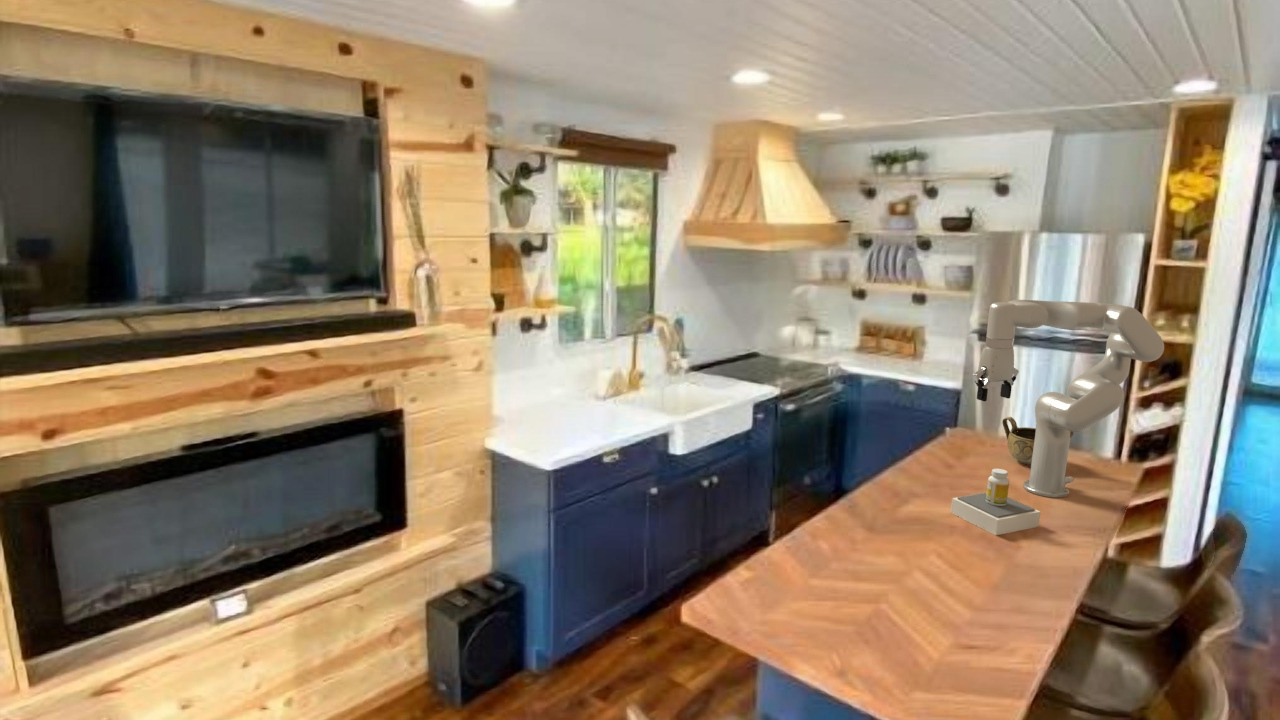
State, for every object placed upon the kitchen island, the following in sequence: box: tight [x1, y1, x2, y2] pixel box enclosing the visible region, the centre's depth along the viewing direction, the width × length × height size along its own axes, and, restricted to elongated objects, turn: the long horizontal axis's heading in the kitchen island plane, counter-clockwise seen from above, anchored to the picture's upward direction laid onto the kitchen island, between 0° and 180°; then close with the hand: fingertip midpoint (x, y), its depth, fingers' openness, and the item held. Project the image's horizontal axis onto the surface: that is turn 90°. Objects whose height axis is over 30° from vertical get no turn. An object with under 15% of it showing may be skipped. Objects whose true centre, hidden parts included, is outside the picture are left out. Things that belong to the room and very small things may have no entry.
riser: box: [950, 491, 1041, 536], centre depth 203 cm, size 16×16×5 cm
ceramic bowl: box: [1002, 416, 1074, 467], centre depth 249 cm, size 22×17×15 cm
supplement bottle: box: [986, 468, 1010, 506], centre depth 202 cm, size 5×5×10 cm
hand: (993, 398), depth 218 cm, fingers open, 9 cm apart
